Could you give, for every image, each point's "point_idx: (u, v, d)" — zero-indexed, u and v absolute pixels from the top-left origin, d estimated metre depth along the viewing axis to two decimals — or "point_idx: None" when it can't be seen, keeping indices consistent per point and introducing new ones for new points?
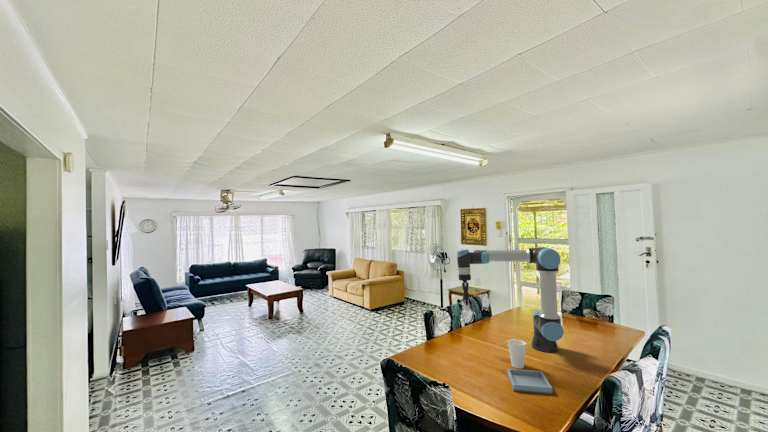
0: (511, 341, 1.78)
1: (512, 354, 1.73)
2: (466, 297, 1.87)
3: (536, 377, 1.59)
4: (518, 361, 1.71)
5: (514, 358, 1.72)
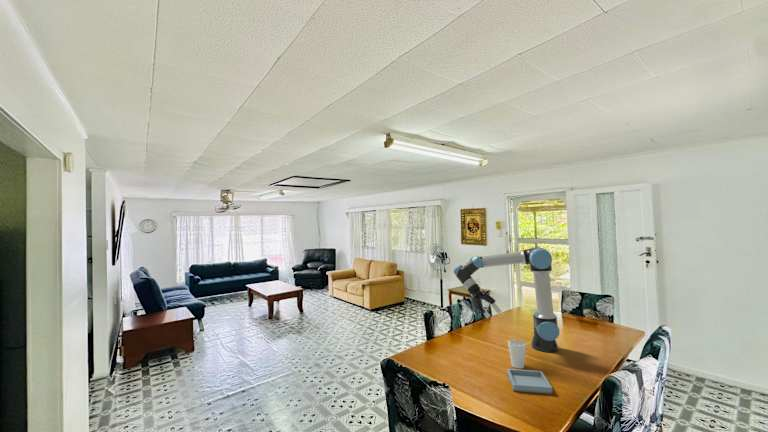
0: (511, 341, 1.78)
1: (512, 354, 1.73)
2: (477, 306, 1.85)
3: (536, 377, 1.59)
4: (518, 361, 1.71)
5: (514, 358, 1.72)
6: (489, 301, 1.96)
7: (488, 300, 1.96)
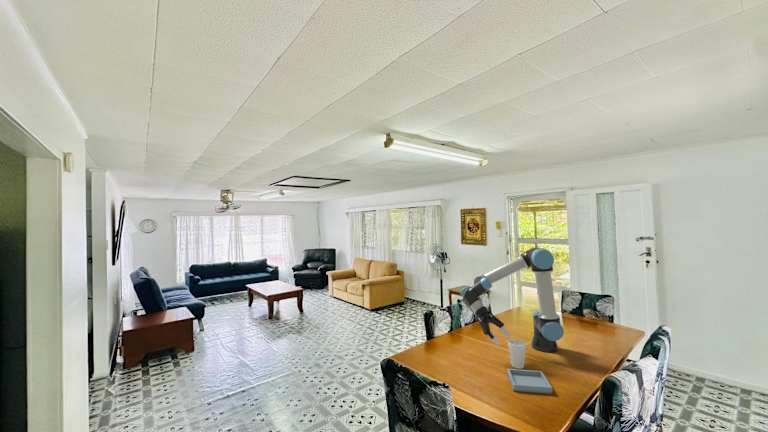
0: (511, 341, 1.78)
1: (512, 354, 1.73)
2: (485, 331, 1.78)
3: (536, 377, 1.59)
4: (518, 361, 1.71)
5: (514, 358, 1.72)
6: (497, 325, 1.89)
7: (496, 324, 1.88)
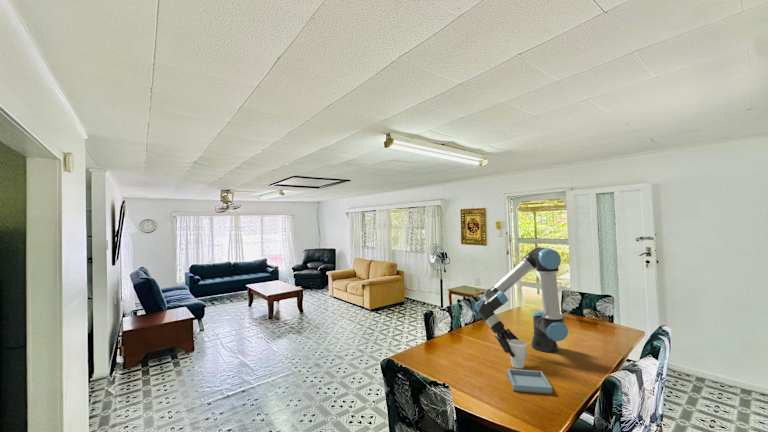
0: (511, 341, 1.78)
1: None
2: (505, 349, 1.71)
3: (536, 377, 1.59)
4: None
5: None
6: None
7: None
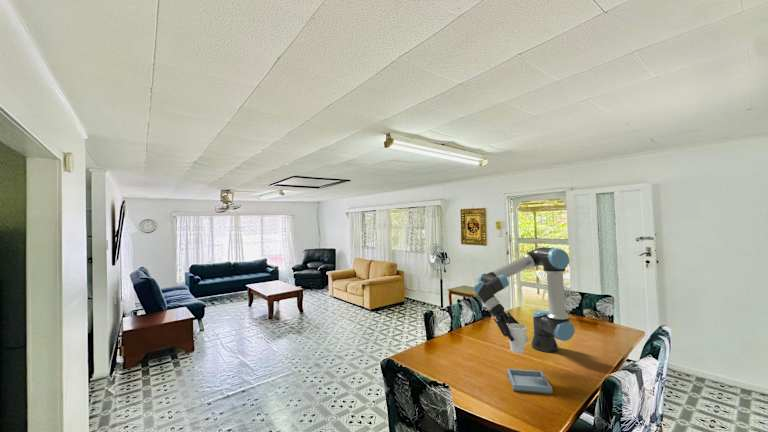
0: (511, 325, 1.68)
1: None
2: (504, 333, 1.61)
3: (536, 377, 1.59)
4: None
5: None
6: None
7: None
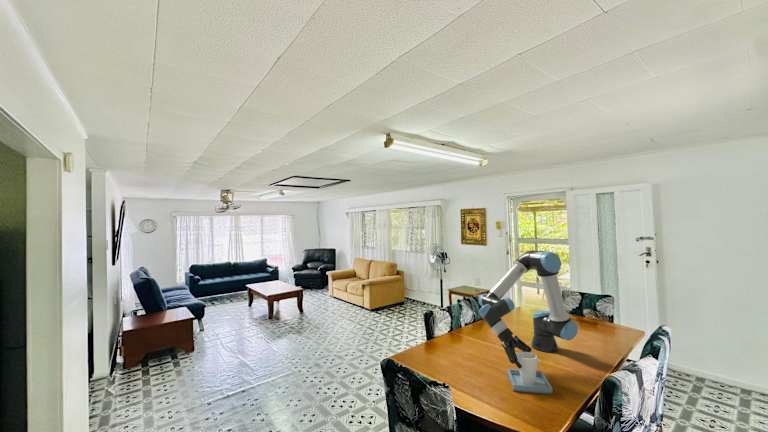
0: (520, 354, 1.59)
1: None
2: (511, 359, 1.51)
3: (536, 377, 1.59)
4: (529, 377, 1.51)
5: None
6: (524, 350, 1.62)
7: (523, 349, 1.62)
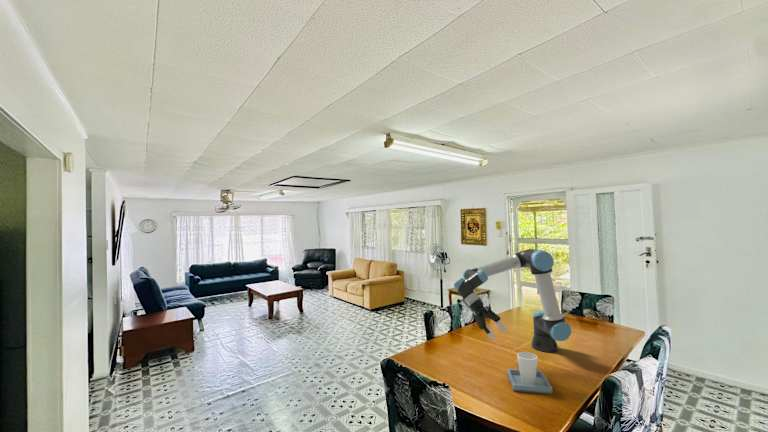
0: (520, 354, 1.59)
1: (522, 369, 1.53)
2: (480, 326, 1.66)
3: (536, 377, 1.59)
4: (529, 377, 1.51)
5: (524, 373, 1.52)
6: (493, 319, 1.77)
7: (492, 318, 1.77)
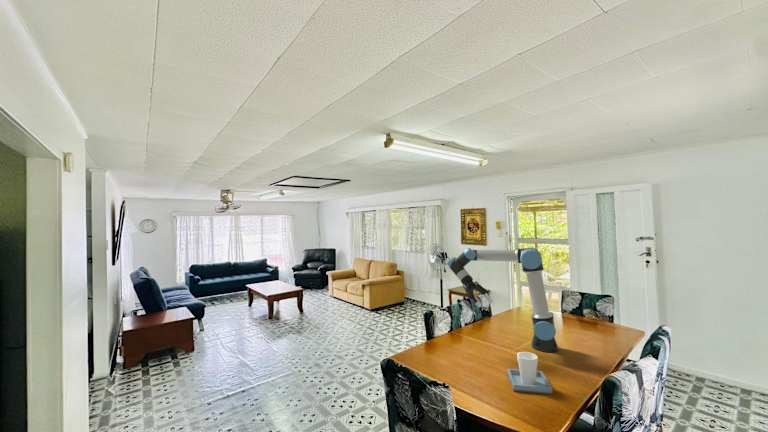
0: (520, 354, 1.59)
1: (522, 369, 1.53)
2: (469, 296, 1.92)
3: (536, 377, 1.59)
4: (529, 377, 1.51)
5: (524, 373, 1.52)
6: (481, 291, 2.03)
7: (480, 290, 2.03)
